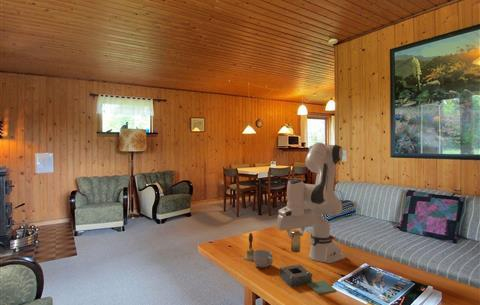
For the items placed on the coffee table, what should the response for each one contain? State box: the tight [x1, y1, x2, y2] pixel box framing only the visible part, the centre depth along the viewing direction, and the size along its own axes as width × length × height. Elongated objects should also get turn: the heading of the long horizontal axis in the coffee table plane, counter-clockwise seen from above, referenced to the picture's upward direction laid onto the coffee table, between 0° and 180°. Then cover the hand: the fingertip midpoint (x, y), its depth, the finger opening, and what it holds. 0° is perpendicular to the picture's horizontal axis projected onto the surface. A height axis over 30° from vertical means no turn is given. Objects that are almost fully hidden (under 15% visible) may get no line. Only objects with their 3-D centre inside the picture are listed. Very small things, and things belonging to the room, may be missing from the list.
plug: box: [290, 229, 301, 254], centre depth 142 cm, size 5×5×10 cm
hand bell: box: [243, 232, 255, 262], centre depth 171 cm, size 8×8×16 cm
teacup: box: [253, 249, 274, 269], centre depth 159 cm, size 14×11×8 cm
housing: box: [279, 263, 313, 289], centre depth 143 cm, size 12×12×6 cm
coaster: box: [306, 279, 337, 295], centre depth 135 cm, size 10×10×1 cm
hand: (295, 236), depth 142 cm, fingers closed on plug, 5 cm apart
